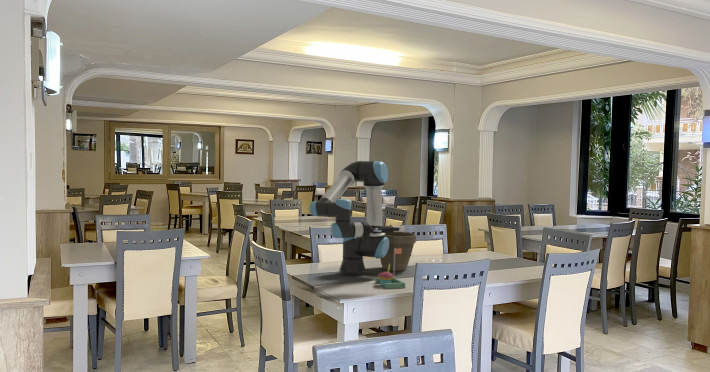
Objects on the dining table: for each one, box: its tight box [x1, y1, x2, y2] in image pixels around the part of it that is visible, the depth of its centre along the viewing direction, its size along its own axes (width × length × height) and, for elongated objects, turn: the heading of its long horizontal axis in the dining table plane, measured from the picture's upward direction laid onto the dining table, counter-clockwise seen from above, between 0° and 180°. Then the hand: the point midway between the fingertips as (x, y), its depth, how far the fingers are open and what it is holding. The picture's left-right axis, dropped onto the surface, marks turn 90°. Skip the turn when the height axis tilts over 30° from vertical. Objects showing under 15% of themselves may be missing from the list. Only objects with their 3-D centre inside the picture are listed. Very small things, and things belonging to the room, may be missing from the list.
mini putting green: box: [374, 248, 406, 290], centre depth 292 cm, size 15×16×18 cm
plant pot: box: [379, 231, 417, 272], centre depth 339 cm, size 25×25×22 cm
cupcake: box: [377, 264, 394, 287], centre depth 290 cm, size 9×8×12 cm
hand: (404, 228), depth 291 cm, fingers closed
